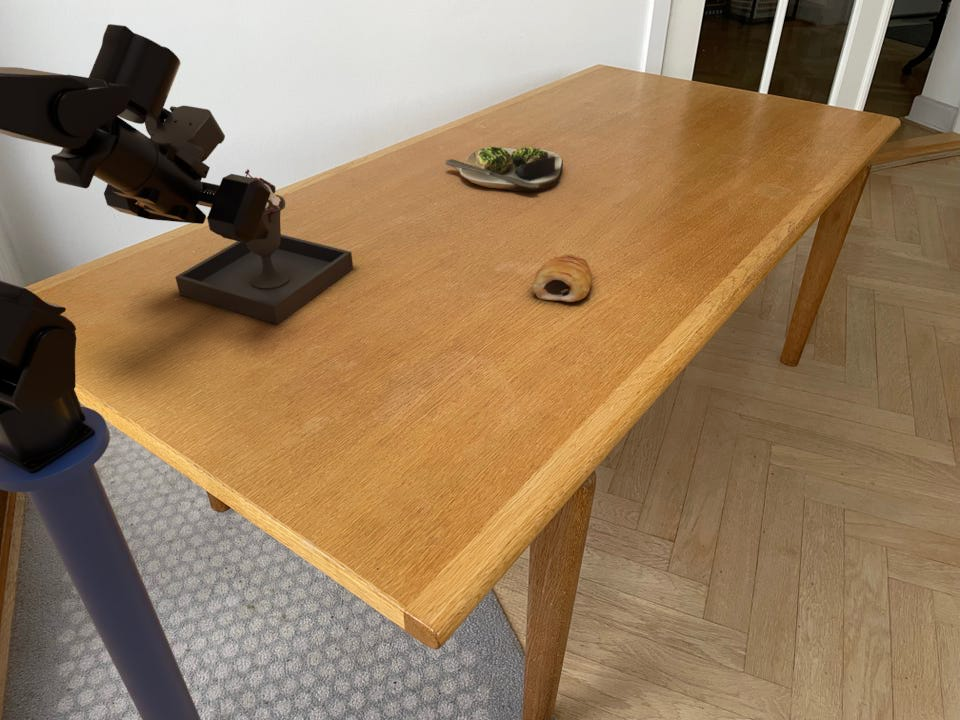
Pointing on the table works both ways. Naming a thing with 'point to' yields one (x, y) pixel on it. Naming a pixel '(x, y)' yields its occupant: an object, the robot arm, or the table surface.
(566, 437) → the table surface
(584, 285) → the pastry
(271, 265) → the sundae
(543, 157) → the salad plate
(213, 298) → the baking tray
